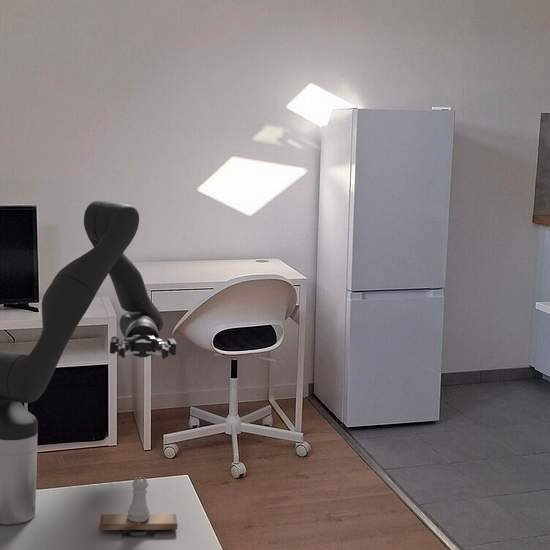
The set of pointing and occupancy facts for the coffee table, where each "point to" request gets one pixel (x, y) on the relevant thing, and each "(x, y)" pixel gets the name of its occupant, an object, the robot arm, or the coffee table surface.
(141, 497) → the rook chess piece
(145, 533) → the fulcrum
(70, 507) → the coffee table surface
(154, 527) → the beam
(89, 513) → the coffee table surface
